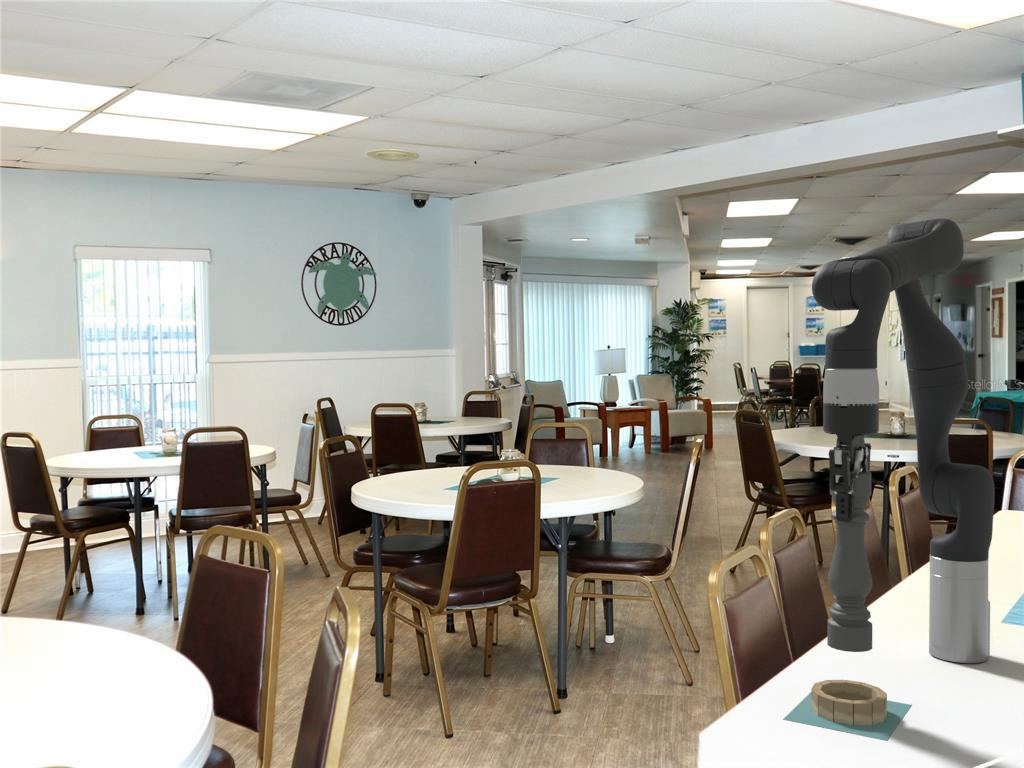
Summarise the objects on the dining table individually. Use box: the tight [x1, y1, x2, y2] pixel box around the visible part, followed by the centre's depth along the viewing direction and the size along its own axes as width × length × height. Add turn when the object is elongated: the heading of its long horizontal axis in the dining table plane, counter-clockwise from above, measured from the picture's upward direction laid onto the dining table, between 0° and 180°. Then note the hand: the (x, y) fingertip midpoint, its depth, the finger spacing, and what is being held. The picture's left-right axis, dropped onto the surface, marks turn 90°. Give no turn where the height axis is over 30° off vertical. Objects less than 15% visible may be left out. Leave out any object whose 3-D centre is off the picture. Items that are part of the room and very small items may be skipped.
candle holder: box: [826, 471, 873, 653], centre depth 138 cm, size 6×6×25 cm
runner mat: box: [782, 691, 913, 742], centre depth 139 cm, size 16×14×1 cm
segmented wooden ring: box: [810, 679, 888, 725], centre depth 139 cm, size 10×10×3 cm
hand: (850, 517), depth 138 cm, fingers closed on candle holder, 5 cm apart
